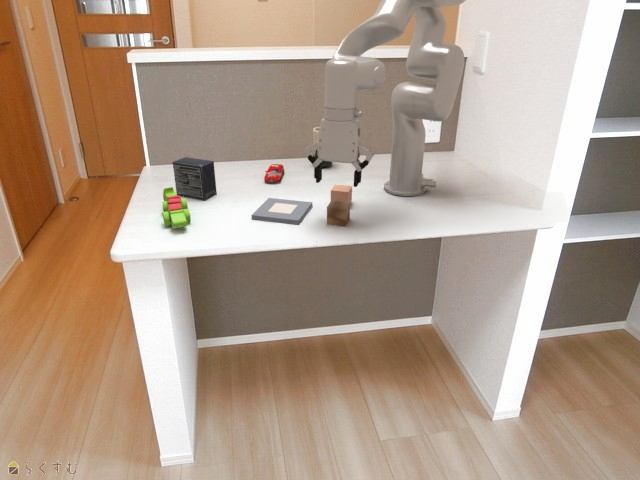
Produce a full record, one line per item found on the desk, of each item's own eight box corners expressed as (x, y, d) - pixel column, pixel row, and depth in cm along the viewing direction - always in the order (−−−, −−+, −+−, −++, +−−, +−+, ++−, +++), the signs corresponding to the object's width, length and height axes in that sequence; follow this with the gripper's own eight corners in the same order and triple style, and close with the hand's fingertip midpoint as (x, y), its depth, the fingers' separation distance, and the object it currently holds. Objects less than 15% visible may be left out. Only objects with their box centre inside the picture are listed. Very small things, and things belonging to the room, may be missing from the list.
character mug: (337, 170, 169) (337, 132, 163) (316, 171, 168) (316, 133, 162) (329, 160, 179) (329, 124, 173) (309, 162, 177) (309, 125, 171)
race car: (279, 185, 156) (279, 173, 154) (262, 185, 156) (262, 173, 155) (286, 172, 168) (286, 160, 166) (270, 171, 168) (270, 160, 166)
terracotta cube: (351, 202, 143) (352, 186, 141) (347, 208, 139) (348, 192, 136) (334, 200, 144) (334, 184, 142) (330, 207, 140) (330, 190, 138)
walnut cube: (349, 219, 132) (350, 201, 130) (345, 227, 128) (346, 209, 125) (331, 217, 133) (331, 200, 131) (326, 225, 129) (326, 207, 127)
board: (312, 206, 140) (312, 201, 139) (298, 224, 129) (298, 220, 128) (268, 201, 143) (268, 197, 142) (251, 219, 132) (251, 214, 131)
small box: (218, 194, 148) (215, 160, 144) (205, 201, 143) (201, 166, 139) (189, 189, 152) (185, 155, 148) (175, 195, 147) (171, 161, 143)
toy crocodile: (193, 232, 125) (190, 209, 122) (165, 235, 123) (162, 213, 120) (186, 204, 142) (183, 184, 139) (162, 207, 140) (158, 186, 137)
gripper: (378, 114, 119) (373, 182, 126) (309, 109, 123) (308, 175, 130) (373, 120, 113) (368, 191, 120) (300, 114, 117) (300, 184, 124)
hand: (337, 183), depth 125 cm, fingers open, 9 cm apart
